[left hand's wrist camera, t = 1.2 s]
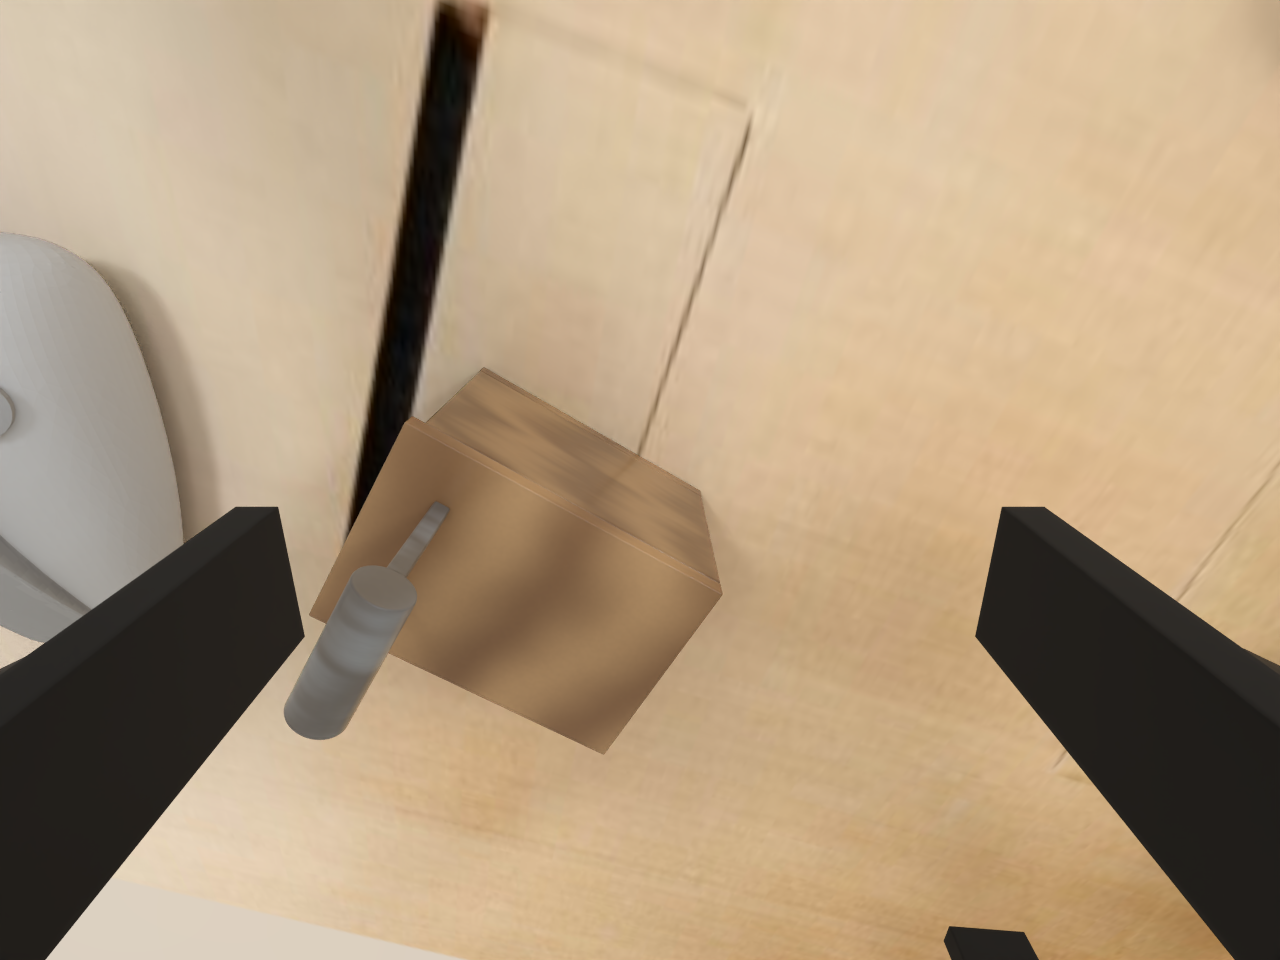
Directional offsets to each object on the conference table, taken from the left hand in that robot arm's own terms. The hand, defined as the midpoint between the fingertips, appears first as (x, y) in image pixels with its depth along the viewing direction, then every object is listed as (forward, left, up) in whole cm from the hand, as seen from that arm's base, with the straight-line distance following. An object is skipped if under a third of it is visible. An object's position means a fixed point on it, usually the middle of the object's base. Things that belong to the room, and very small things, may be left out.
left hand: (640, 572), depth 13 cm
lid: (+5, -10, -16) cm, 19 cm away
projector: (-15, -30, -27) cm, 43 cm away
